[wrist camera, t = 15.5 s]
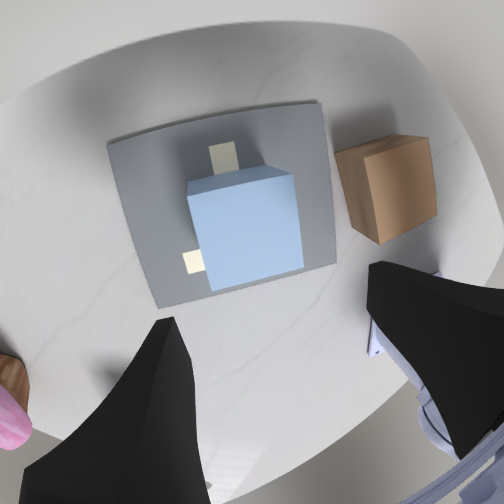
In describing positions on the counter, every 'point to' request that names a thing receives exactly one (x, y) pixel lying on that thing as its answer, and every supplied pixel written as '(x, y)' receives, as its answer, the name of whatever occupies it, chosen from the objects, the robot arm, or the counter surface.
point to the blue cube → (246, 224)
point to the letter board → (212, 163)
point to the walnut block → (388, 185)
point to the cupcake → (13, 403)
